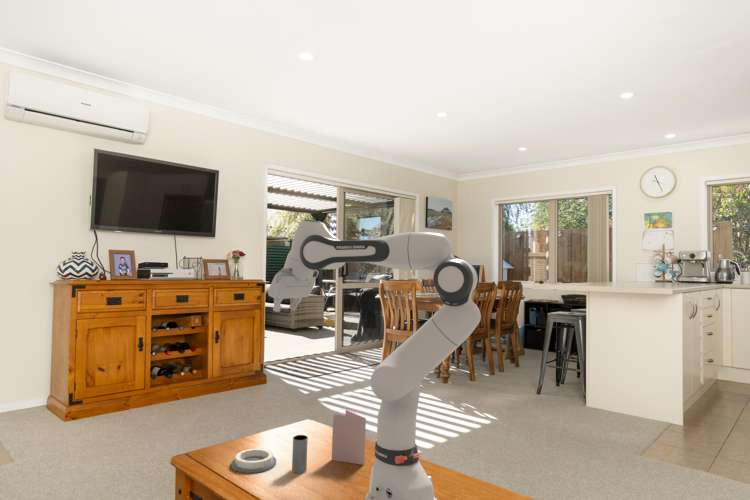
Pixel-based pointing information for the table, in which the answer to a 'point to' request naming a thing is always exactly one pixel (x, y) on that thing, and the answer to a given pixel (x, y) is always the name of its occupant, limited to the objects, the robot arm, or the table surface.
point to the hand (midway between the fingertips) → (284, 310)
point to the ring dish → (255, 458)
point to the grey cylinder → (299, 454)
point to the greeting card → (348, 438)
